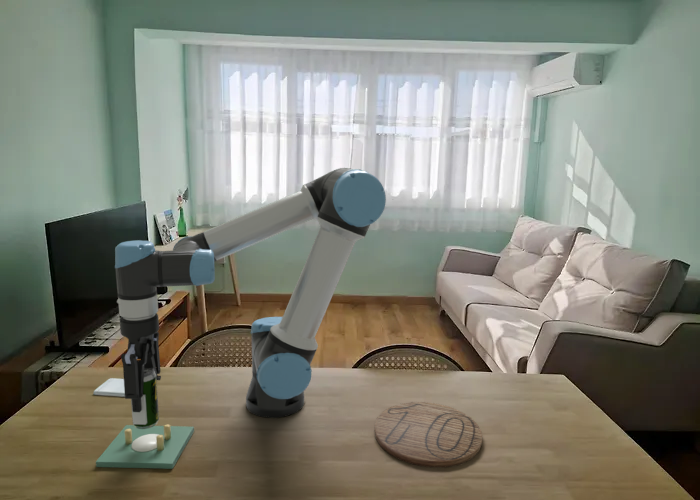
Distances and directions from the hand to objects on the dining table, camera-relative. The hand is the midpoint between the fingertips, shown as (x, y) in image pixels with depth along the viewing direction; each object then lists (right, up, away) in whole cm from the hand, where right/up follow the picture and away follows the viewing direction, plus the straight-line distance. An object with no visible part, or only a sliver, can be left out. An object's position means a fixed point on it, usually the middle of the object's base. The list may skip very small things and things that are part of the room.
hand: (146, 415), depth 109 cm
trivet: (+63, -8, +9) cm, 64 cm away
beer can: (0, -2, 0) cm, 2 cm away
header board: (0, -8, +2) cm, 8 cm away
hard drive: (-18, -3, +28) cm, 33 cm away
